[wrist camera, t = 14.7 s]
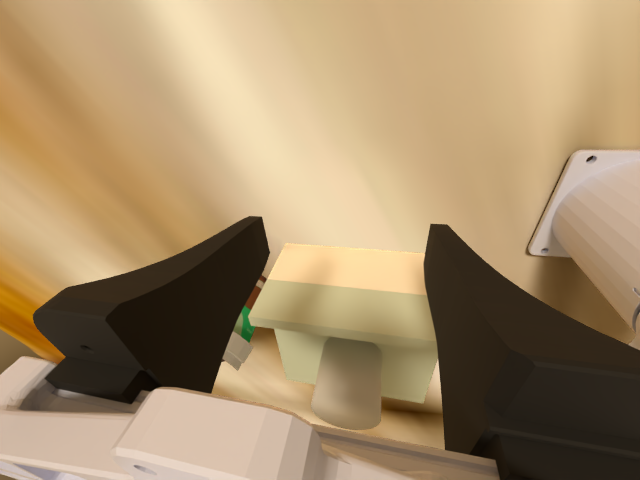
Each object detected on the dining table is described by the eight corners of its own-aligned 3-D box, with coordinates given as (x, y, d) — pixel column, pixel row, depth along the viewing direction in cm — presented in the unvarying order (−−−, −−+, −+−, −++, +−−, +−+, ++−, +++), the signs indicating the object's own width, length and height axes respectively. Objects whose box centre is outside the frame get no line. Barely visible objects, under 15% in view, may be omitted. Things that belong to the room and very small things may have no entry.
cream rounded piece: (394, 358, 24) (396, 422, 20) (351, 375, 27) (345, 434, 23) (351, 326, 22) (344, 387, 18) (311, 347, 25) (297, 404, 21)
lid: (452, 297, 20) (463, 344, 17) (422, 395, 28) (426, 438, 25) (267, 279, 22) (247, 316, 19) (288, 372, 30) (277, 409, 27)
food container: (249, 237, 27) (191, 319, 19) (282, 281, 30) (243, 370, 22) (169, 267, 32) (96, 341, 24) (203, 302, 35) (148, 380, 27)
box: (441, 254, 24) (452, 297, 20) (418, 350, 32) (422, 394, 28) (285, 243, 26) (267, 278, 22) (300, 334, 34) (288, 372, 30)
